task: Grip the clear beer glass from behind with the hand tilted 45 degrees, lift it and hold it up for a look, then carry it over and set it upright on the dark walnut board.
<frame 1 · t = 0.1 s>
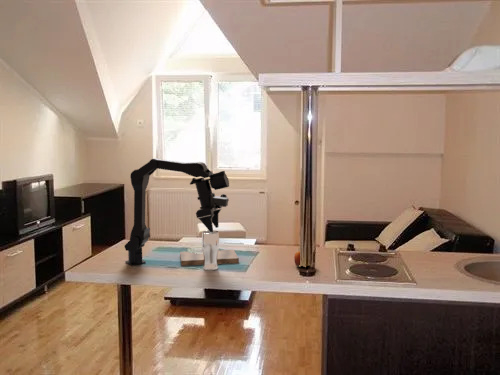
hand: (214, 229, 194), 15 cm above the countertop, tool pointing down, fingers open, 9 cm apart
beer glass: (210, 268, 194), on the countertop
walnut board: (208, 259, 207), on the countertop
fruit: (303, 267, 196), on the countertop
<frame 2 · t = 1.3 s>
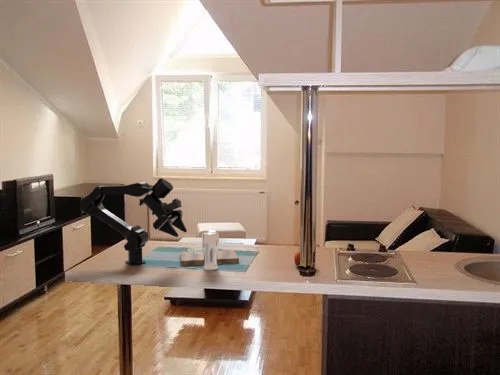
hand: (182, 234, 195), 14 cm above the countertop, tool tilted 45°, fingers open, 9 cm apart
nothing on the countertop moved.
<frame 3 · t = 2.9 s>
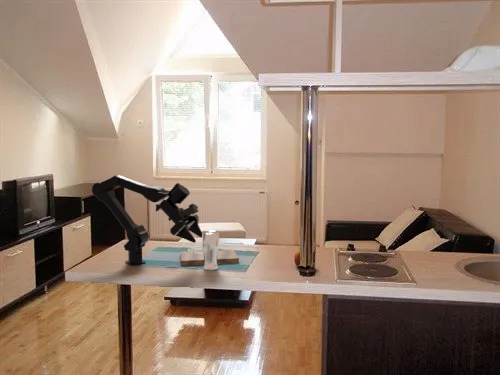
hand: (199, 239, 193), 12 cm above the countertop, tool tilted 45°, fingers open, 9 cm apart
nothing on the countertop moved.
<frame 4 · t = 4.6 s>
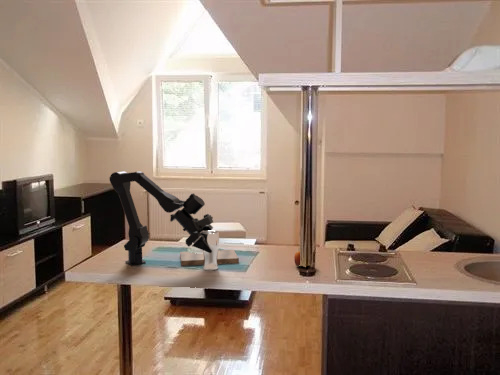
hand: (213, 250, 192), 8 cm above the countertop, tool tilted 45°, fingers closed on beer glass, 6 cm apart
beer glass: (210, 268, 194), on the countertop, touching gripper
everything else where it was.
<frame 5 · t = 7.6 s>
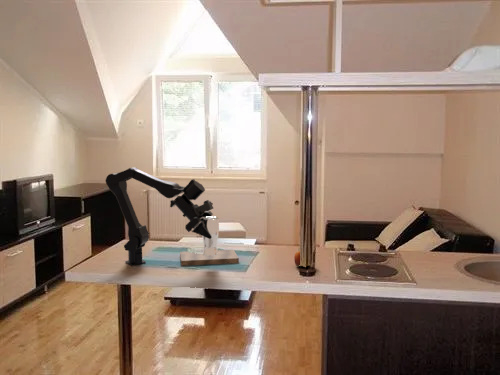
hand: (213, 236, 192), 13 cm above the countertop, tool tilted 45°, fingers closed on beer glass, 6 cm apart
beer glass: (210, 255, 193), point 5 cm above the countertop, touching gripper
everything else where it was.
when the fingers open (10 cm above the countertop, at t = 10.4 s): beer glass stays where it is, resting on walnut board.
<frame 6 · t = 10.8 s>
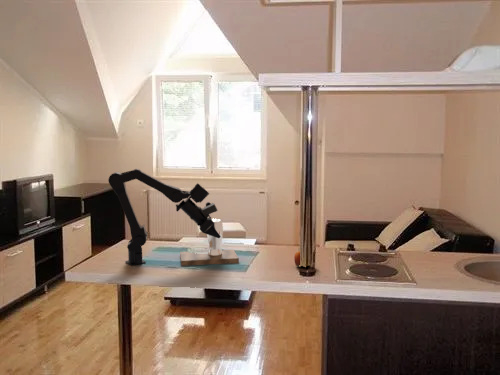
hand: (218, 235, 206), 11 cm above the countertop, tool tilted 45°, fingers open, 9 cm apart
beer glass: (215, 254, 207), point 2 cm above the countertop, touching walnut board
everything else where it was.
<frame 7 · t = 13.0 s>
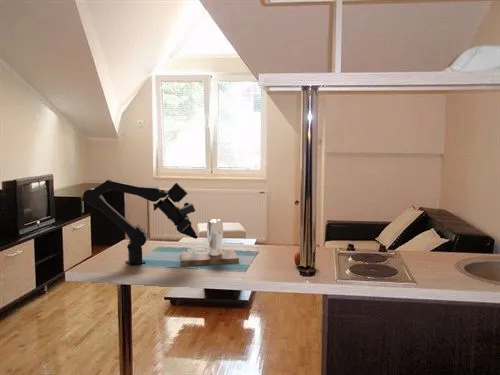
hand: (195, 236, 205), 11 cm above the countertop, tool tilted 45°, fingers open, 9 cm apart
nothing on the countertop moved.
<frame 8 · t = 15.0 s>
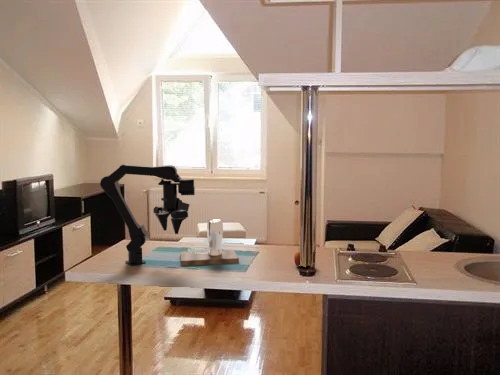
hand: (170, 232, 201), 13 cm above the countertop, tool pointing down, fingers open, 9 cm apart
nothing on the countertop moved.
at the end: beer glass inside the target area on the walnut board (2.0 cm from its centre), point 1.8 cm above the walnut board's base; beer glass tilted 0°; the gripper is holding nothing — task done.
